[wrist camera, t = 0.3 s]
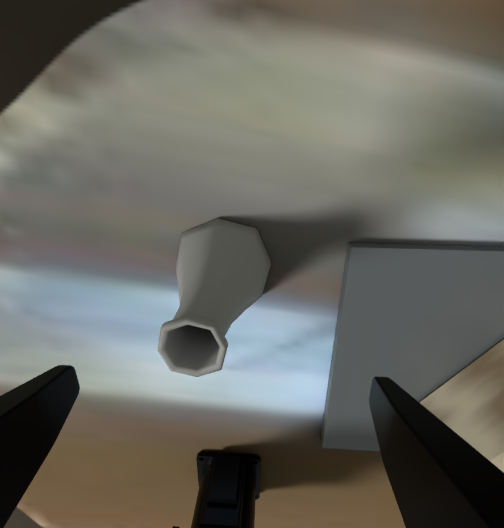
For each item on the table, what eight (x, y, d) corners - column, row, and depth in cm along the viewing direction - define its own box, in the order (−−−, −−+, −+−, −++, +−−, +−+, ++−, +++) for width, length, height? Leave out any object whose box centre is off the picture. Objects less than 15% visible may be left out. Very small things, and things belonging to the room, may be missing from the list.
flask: (168, 220, 22) (92, 280, 12) (268, 213, 21) (267, 272, 12) (184, 307, 24) (132, 410, 15) (274, 303, 24) (276, 408, 14)
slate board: (534, 450, 28) (544, 461, 27) (320, 438, 29) (322, 447, 28) (644, 250, 20) (662, 255, 19) (347, 242, 21) (351, 247, 20)
